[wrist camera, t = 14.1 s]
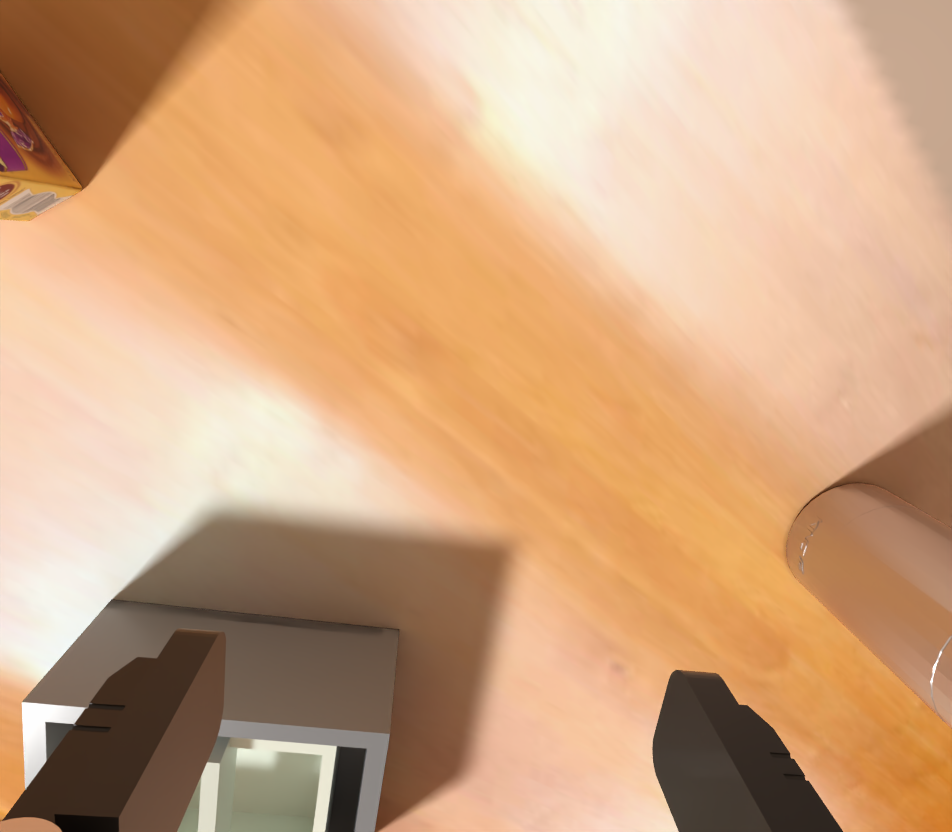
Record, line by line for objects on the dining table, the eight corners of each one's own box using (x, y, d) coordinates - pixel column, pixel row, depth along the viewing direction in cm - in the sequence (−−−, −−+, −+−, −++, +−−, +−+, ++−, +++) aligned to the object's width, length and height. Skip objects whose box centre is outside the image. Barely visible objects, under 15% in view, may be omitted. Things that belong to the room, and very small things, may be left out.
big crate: (399, 629, 46) (389, 734, 37) (366, 839, 52) (351, 977, 42) (111, 599, 44) (21, 702, 34) (109, 821, 50) (32, 963, 40)
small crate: (350, 670, 46) (331, 772, 37) (330, 817, 50) (308, 941, 41) (153, 650, 44) (85, 752, 36) (147, 803, 48) (85, 929, 39)
